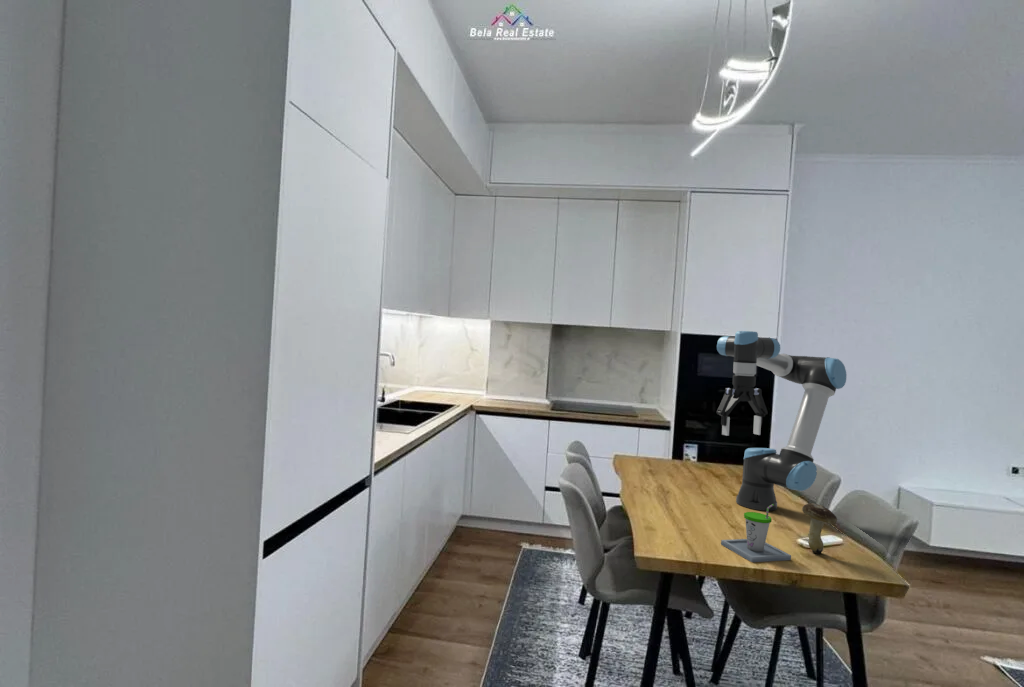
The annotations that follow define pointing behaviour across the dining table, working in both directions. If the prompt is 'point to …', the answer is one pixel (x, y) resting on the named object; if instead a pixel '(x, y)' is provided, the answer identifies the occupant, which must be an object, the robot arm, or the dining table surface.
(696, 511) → the dining table surface
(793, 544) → the dining table surface
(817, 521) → the mushroom
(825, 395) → the robot arm
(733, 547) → the tray
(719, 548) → the dining table surface
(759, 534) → the cup
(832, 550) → the dining table surface
